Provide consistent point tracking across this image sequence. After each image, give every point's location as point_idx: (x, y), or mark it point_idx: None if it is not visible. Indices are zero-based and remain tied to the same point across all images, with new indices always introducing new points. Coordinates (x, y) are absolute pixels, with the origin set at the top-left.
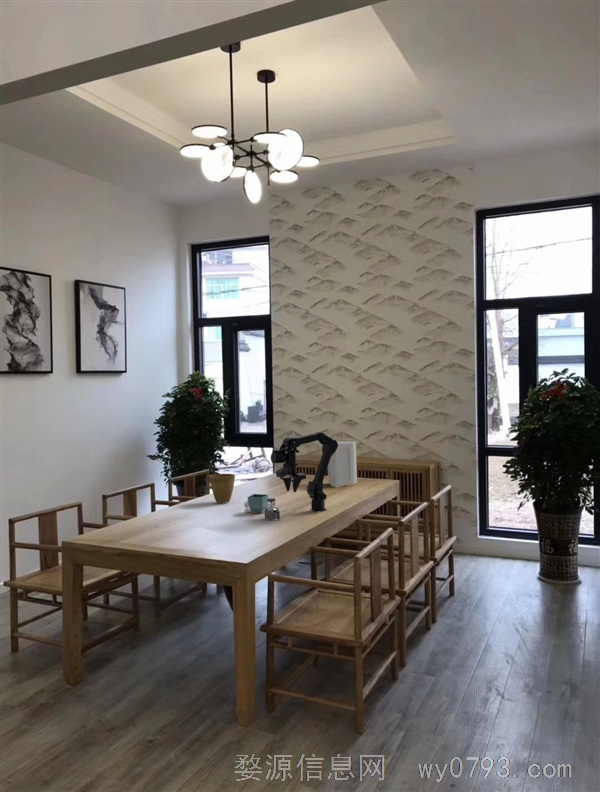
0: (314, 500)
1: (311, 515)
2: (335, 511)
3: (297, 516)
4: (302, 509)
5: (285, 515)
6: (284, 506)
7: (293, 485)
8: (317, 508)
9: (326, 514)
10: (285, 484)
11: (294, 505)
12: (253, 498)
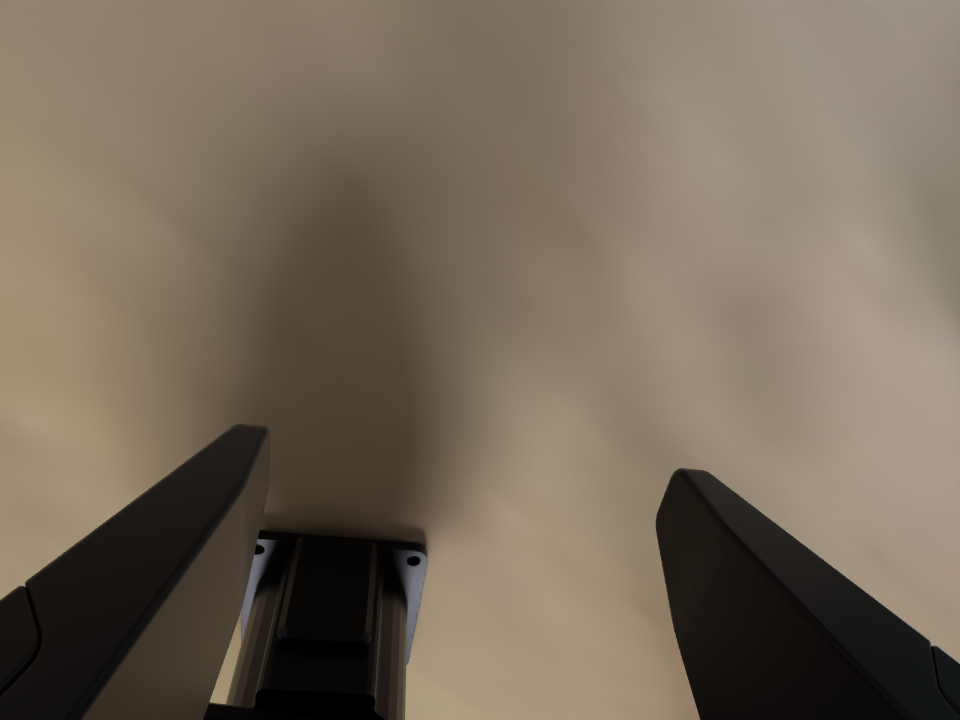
0: (289, 679)
1: (129, 341)
2: None
3: (248, 140)
4: (573, 532)
5: (510, 67)
6: (928, 524)
7: (44, 633)
8: (277, 587)
9: (24, 505)
10: (905, 660)
11: None
12: None
